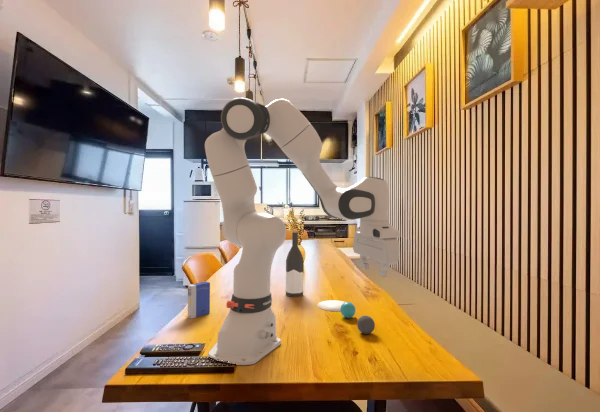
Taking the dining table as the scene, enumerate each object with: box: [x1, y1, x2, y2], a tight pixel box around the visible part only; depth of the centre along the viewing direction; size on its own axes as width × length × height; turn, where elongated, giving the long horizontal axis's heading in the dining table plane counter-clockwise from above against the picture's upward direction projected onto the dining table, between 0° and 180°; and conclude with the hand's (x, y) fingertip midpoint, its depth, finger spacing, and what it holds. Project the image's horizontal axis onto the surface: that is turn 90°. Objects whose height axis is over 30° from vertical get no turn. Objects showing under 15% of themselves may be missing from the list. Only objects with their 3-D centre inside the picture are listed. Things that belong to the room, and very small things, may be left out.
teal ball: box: [339, 301, 356, 319], centre depth 120 cm, size 6×6×6 cm
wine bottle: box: [285, 228, 305, 298], centre depth 150 cm, size 8×8×30 cm
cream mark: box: [317, 299, 346, 312], centre depth 134 cm, size 14×14×1 cm
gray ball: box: [356, 315, 376, 335], centre depth 106 cm, size 6×6×6 cm
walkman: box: [187, 280, 211, 319], centre depth 121 cm, size 8×3×12 cm, turn 139°
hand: (373, 272), depth 103 cm, fingers open, 8 cm apart
